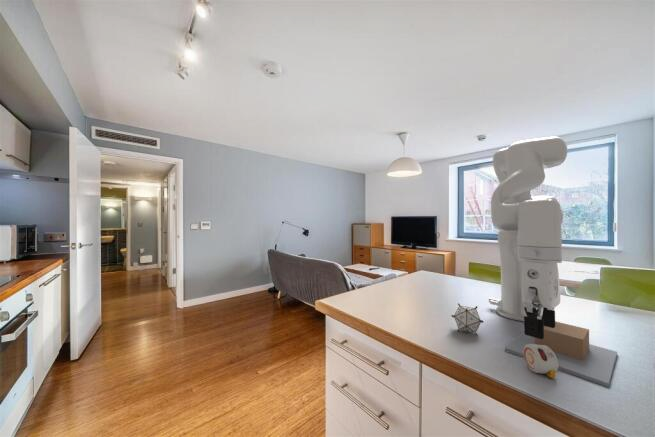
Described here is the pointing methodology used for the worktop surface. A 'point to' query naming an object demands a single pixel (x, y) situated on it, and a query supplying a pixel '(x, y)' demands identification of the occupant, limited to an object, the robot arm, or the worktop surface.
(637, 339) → the worktop surface
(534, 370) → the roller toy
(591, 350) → the tower base
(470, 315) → the white geodesic ball toy
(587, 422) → the worktop surface
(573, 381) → the worktop surface
